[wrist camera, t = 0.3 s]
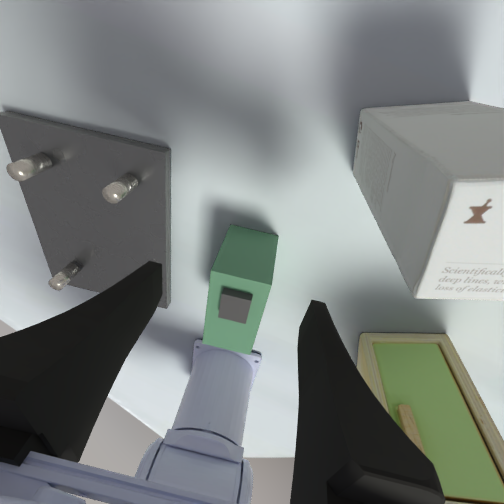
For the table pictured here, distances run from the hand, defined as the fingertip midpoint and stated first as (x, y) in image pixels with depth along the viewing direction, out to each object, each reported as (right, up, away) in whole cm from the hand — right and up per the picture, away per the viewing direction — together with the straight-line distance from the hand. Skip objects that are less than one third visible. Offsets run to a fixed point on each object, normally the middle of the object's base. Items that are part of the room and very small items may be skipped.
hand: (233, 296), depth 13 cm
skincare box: (+10, +9, +4) cm, 14 cm away
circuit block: (0, +1, +12) cm, 12 cm away
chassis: (-12, +5, +11) cm, 17 cm away
